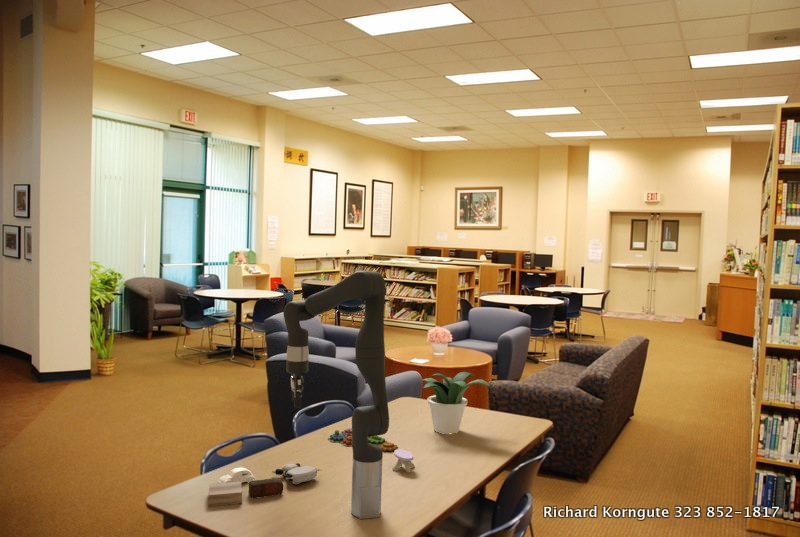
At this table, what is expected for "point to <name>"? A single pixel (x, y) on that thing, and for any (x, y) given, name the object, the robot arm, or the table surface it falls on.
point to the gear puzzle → (379, 441)
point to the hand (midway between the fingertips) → (296, 404)
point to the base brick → (225, 493)
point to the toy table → (403, 459)
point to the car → (237, 476)
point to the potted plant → (449, 401)
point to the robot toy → (297, 473)
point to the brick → (265, 487)
